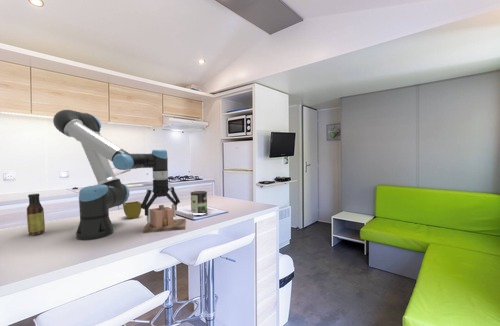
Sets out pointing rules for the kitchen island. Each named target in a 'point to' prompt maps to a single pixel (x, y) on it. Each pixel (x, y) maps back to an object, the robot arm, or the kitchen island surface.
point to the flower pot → (132, 209)
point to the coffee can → (199, 202)
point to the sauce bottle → (35, 215)
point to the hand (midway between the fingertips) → (161, 219)
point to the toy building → (161, 216)
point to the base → (177, 225)
